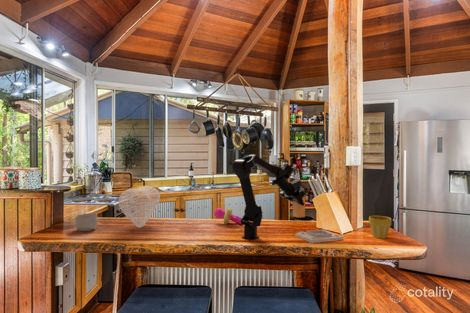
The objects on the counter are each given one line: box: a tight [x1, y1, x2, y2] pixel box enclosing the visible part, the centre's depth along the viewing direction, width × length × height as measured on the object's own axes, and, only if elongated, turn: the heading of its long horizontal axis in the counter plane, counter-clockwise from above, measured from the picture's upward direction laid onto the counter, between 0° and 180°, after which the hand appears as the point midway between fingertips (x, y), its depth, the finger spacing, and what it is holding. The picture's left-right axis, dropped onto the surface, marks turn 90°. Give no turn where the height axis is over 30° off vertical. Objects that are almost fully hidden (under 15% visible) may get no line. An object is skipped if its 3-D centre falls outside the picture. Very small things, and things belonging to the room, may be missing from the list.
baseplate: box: [294, 229, 344, 244], centre depth 155 cm, size 18×14×3 cm
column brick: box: [292, 195, 306, 218], centre depth 173 cm, size 5×5×13 cm
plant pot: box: [368, 215, 392, 239], centre depth 158 cm, size 10×10×10 cm
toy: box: [213, 207, 243, 225], centre depth 184 cm, size 10×18×10 cm, turn 77°
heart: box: [118, 185, 161, 229], centre depth 172 cm, size 28×16×22 cm, turn 168°
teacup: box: [74, 212, 98, 232], centre depth 167 cm, size 14×11×8 cm
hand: (301, 204), depth 173 cm, fingers closed on column brick, 5 cm apart
